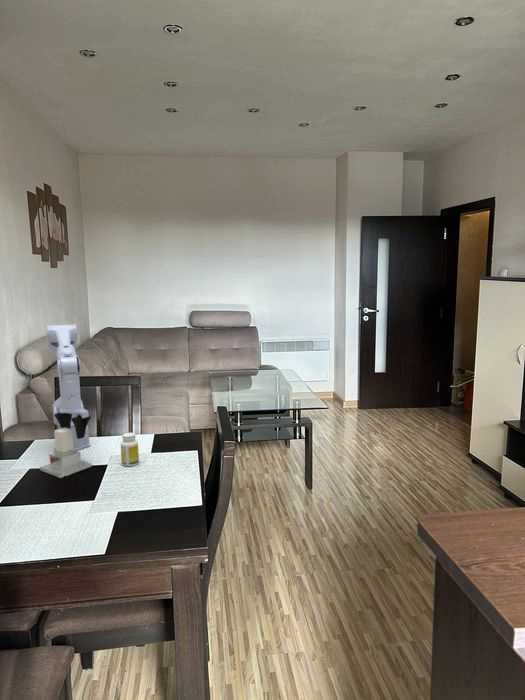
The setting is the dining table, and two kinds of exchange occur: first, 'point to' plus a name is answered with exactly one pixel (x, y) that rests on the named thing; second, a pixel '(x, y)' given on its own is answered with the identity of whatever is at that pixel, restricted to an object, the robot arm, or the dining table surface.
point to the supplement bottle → (129, 450)
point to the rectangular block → (64, 442)
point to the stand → (65, 464)
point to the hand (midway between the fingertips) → (73, 435)
